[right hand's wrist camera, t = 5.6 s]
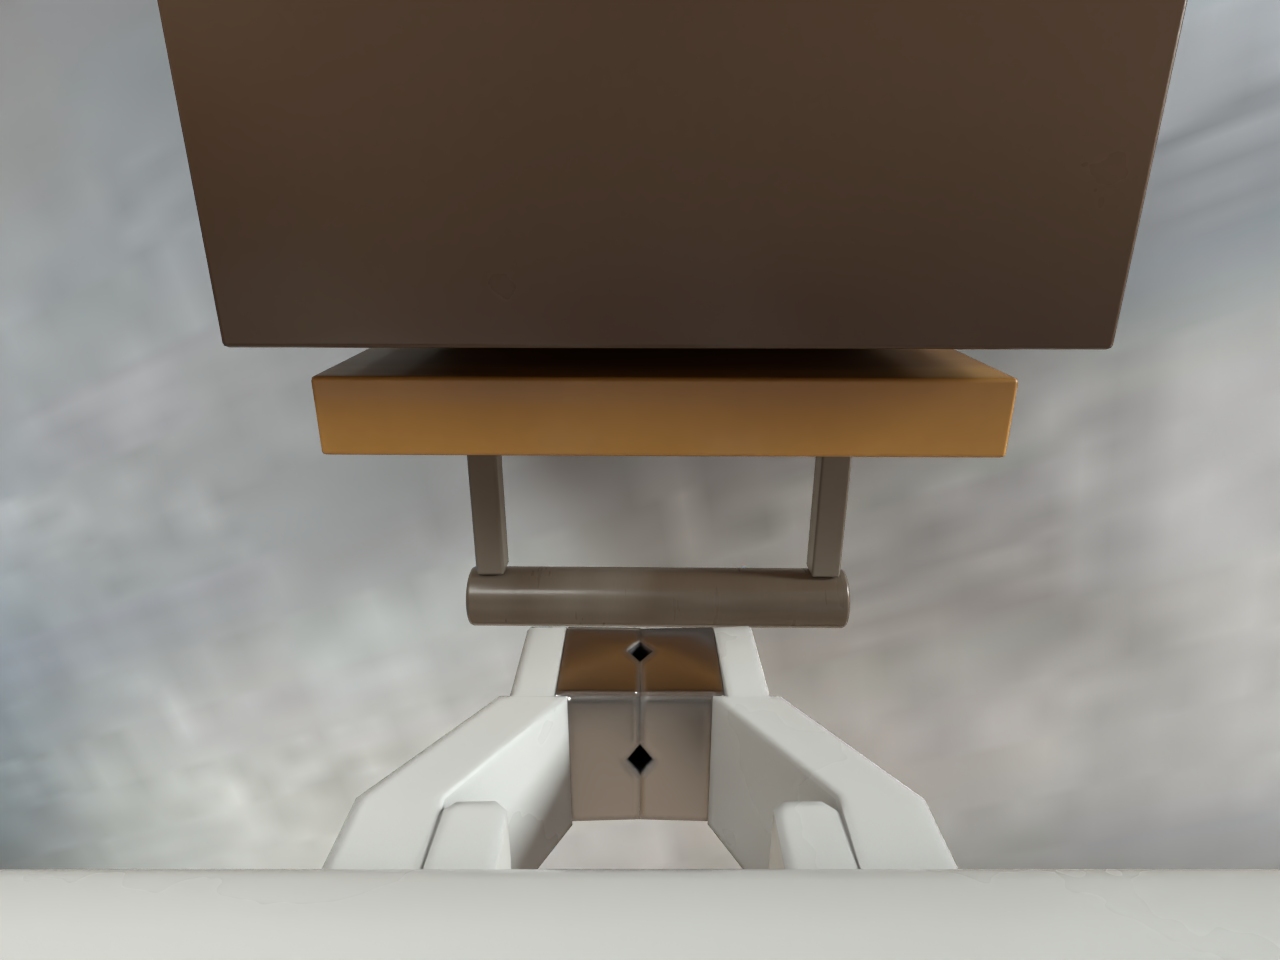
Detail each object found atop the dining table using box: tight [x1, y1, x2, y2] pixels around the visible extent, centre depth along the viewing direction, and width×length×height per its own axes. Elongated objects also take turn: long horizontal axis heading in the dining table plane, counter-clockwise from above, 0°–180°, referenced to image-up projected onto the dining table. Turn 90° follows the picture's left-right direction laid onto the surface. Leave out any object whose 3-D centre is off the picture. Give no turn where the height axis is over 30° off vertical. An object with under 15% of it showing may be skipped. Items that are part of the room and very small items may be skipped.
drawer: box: [312, 348, 1018, 628], centre depth 13 cm, size 22×10×9 cm, turn 0°
